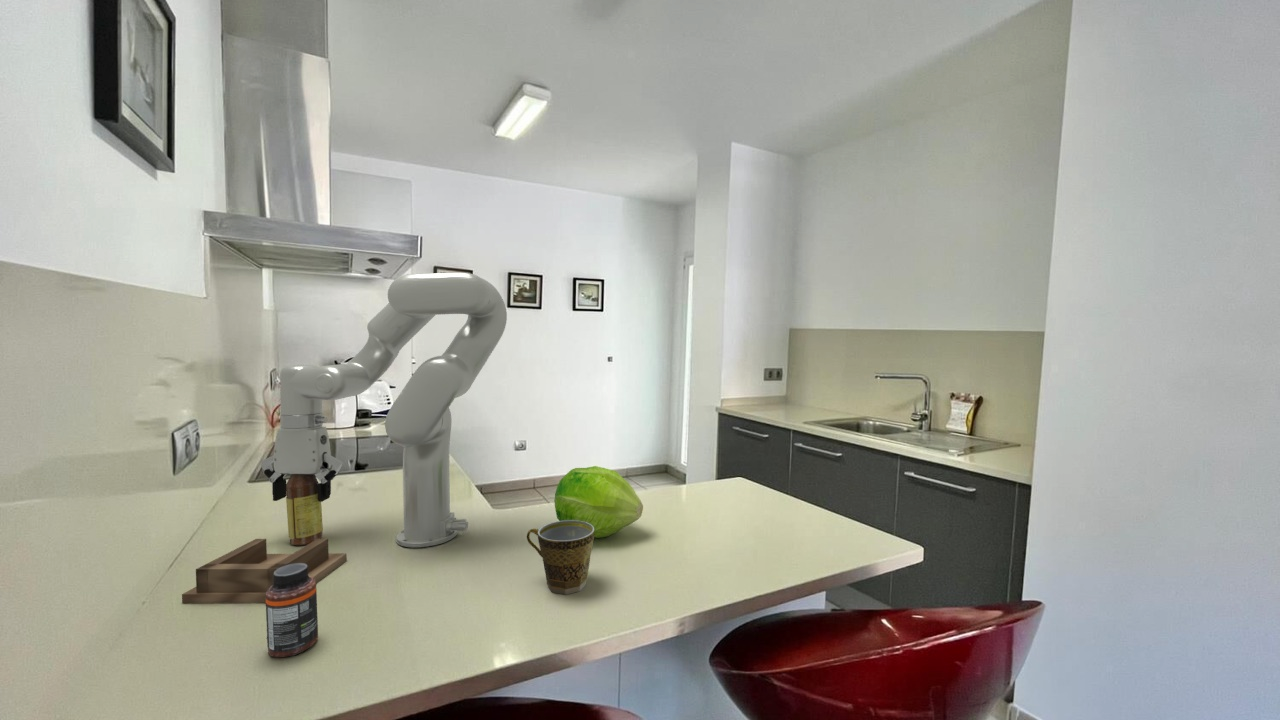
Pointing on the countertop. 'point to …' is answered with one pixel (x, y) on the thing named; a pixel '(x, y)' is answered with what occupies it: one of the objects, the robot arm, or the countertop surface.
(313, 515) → the sauce bottle
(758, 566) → the countertop surface
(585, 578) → the ceramic cup
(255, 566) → the bottle stand
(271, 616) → the supplement bottle
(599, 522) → the lettuce
